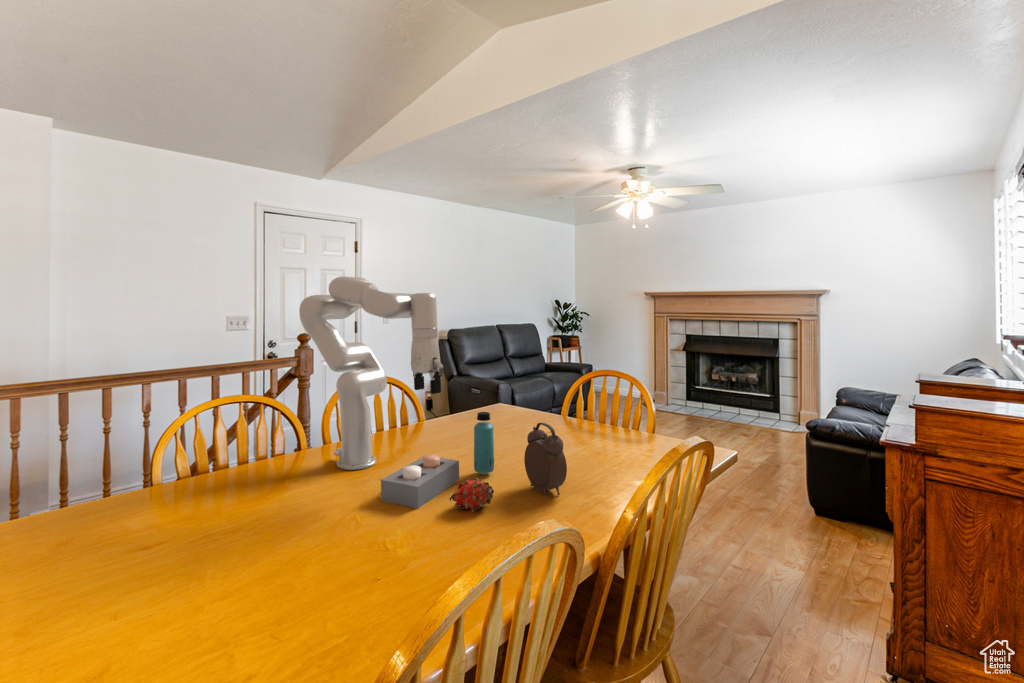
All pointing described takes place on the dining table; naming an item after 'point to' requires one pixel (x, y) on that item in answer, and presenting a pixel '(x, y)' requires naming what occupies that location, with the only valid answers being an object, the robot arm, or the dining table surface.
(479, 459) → the beverage bottle
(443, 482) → the grey rectangular block
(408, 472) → the white rounded piece
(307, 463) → the dining table surface
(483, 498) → the dragon fruit
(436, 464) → the brown egg
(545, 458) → the alarm clock
